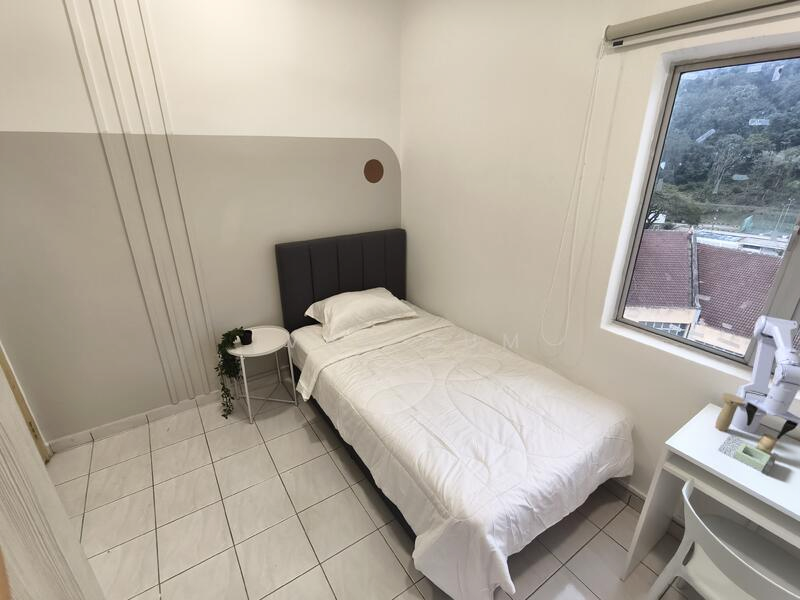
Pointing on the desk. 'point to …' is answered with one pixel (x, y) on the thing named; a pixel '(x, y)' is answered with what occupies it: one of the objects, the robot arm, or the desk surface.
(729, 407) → the handle
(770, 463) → the board
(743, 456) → the collar block
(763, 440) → the dowel
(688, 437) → the desk surface
